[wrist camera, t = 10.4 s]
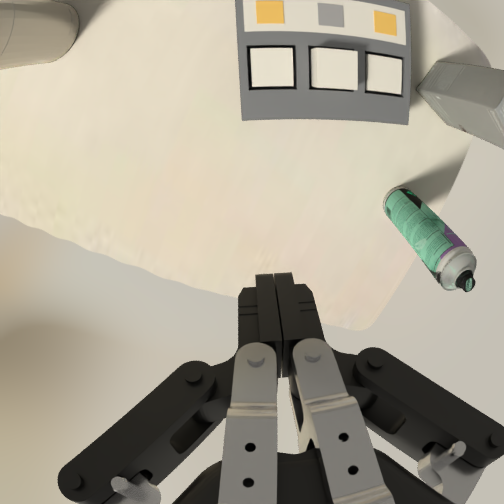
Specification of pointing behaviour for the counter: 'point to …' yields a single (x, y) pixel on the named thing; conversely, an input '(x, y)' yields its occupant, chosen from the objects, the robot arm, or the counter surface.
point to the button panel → (324, 36)
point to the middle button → (334, 68)
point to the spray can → (431, 240)
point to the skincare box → (467, 98)
